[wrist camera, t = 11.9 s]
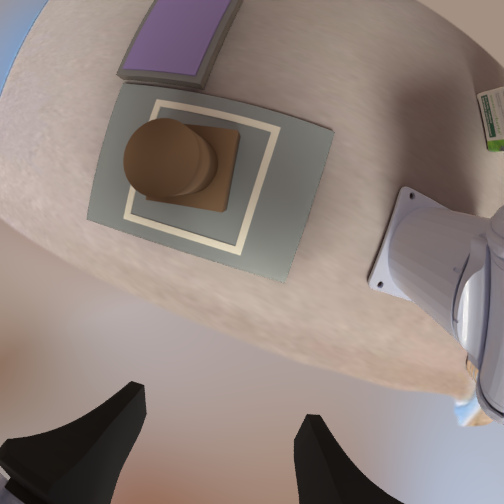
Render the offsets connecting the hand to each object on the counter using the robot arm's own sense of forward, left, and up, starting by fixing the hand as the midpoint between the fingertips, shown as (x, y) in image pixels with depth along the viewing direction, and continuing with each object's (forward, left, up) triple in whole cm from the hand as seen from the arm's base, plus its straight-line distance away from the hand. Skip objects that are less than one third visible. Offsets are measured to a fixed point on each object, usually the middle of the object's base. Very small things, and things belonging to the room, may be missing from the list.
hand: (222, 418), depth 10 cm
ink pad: (+11, -20, -10) cm, 25 cm away
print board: (+6, -9, -10) cm, 15 cm away
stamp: (+6, -10, -10) cm, 15 cm away
